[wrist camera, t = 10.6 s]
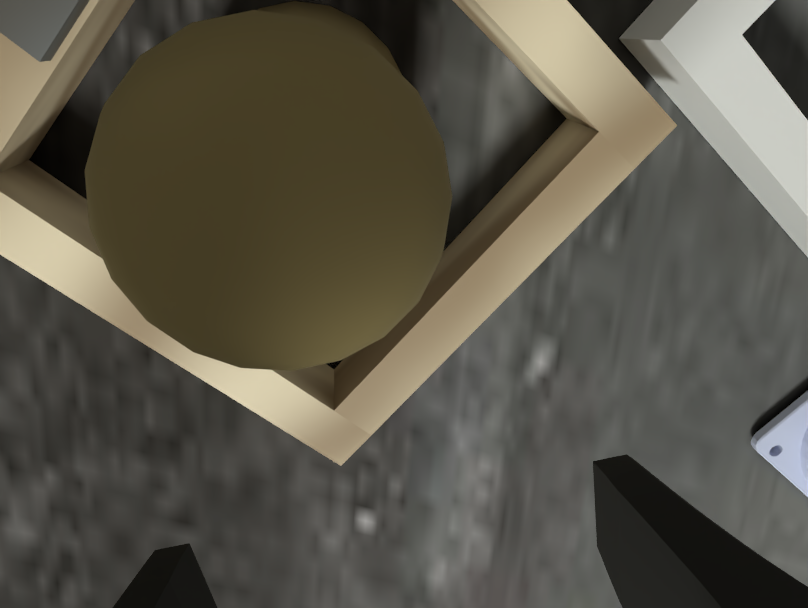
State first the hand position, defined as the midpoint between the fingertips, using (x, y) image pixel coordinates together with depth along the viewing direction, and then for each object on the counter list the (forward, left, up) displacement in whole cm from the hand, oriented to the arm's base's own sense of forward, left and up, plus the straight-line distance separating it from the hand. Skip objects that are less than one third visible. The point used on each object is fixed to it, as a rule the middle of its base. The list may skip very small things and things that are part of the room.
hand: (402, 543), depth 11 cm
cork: (+5, -3, -11) cm, 12 cm away
